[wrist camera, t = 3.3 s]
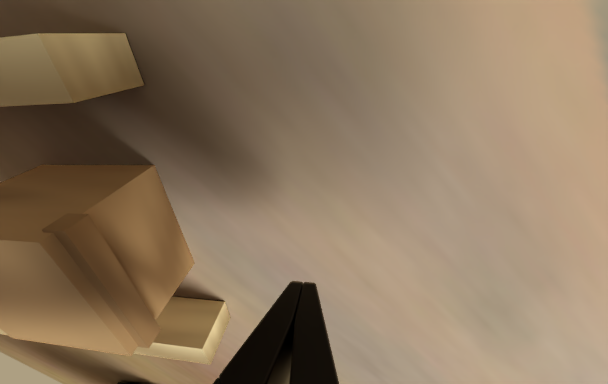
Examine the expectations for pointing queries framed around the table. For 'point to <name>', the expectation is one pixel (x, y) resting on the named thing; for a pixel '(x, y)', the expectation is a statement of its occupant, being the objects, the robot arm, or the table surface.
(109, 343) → the box
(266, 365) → the robot arm
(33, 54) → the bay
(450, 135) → the table surface
